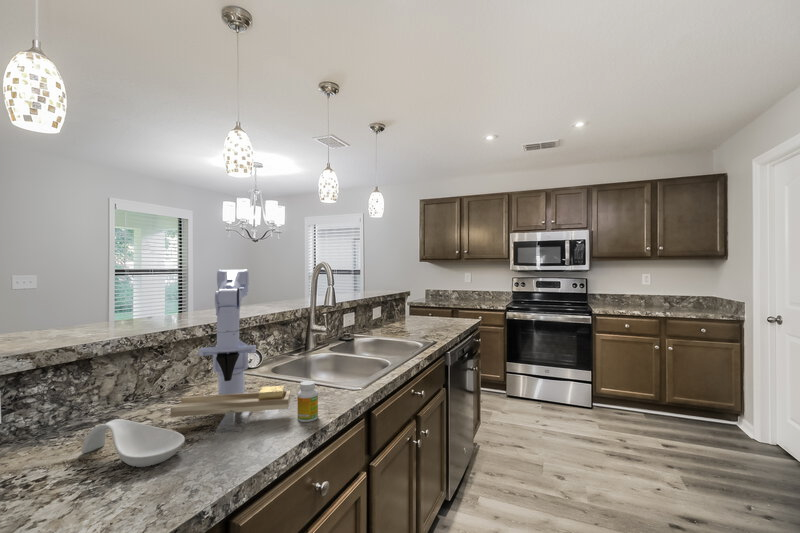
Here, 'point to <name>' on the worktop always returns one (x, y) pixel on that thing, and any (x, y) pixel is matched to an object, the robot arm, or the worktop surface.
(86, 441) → the spoon rest
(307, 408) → the supplement bottle
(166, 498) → the worktop surface
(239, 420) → the stand
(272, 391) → the block
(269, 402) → the beam
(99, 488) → the worktop surface
